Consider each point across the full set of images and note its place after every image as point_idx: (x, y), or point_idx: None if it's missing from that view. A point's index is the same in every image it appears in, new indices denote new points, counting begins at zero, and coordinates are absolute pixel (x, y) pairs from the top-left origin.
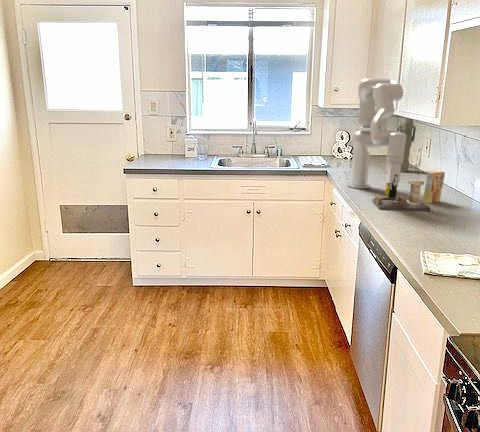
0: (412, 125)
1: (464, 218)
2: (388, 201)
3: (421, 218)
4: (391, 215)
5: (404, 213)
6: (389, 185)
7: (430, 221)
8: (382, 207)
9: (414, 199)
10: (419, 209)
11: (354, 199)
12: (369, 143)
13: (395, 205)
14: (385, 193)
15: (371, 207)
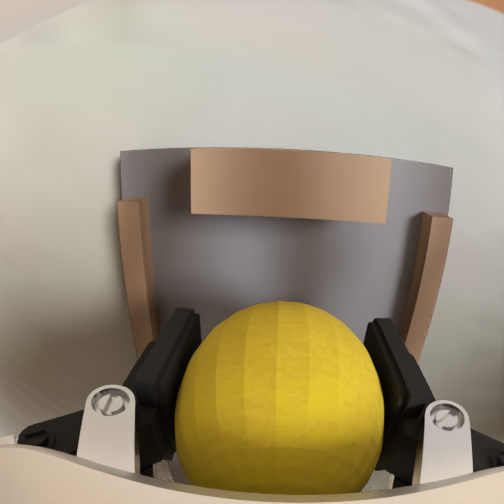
0: None
1: None
2: (339, 312)
3: (24, 368)
4: (10, 216)
5: (74, 327)
6: (214, 454)
7: (5, 379)
8: (127, 183)
9: None
10: None
11: (484, 26)
12: None
13: (133, 317)
14: (273, 303)
15: (199, 84)
